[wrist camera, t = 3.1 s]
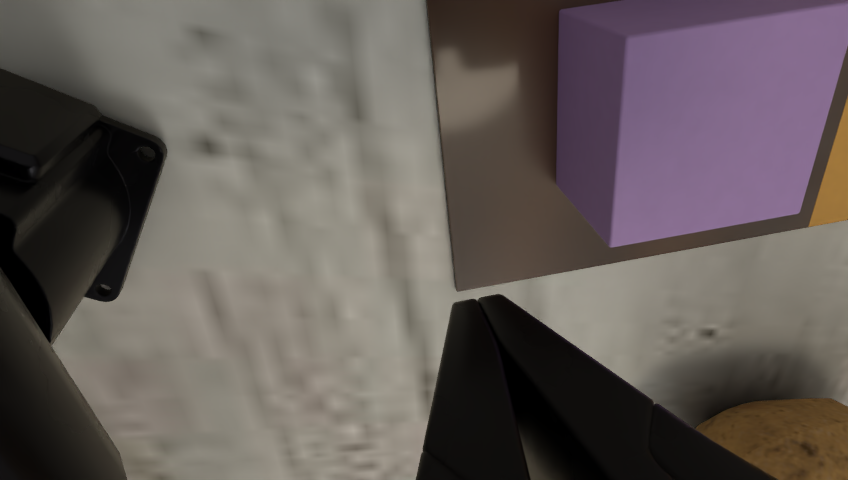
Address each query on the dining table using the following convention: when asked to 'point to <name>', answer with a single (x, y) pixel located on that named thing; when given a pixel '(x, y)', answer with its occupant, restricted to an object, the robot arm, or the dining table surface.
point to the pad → (834, 180)
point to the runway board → (535, 148)
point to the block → (693, 110)
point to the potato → (786, 437)
